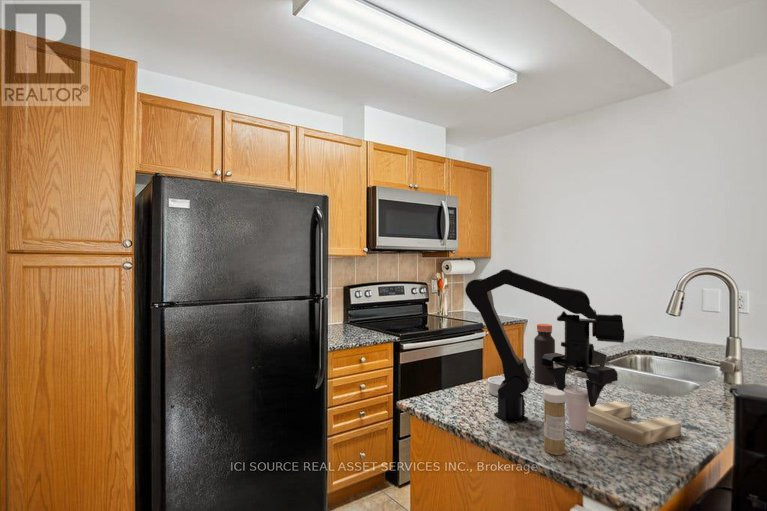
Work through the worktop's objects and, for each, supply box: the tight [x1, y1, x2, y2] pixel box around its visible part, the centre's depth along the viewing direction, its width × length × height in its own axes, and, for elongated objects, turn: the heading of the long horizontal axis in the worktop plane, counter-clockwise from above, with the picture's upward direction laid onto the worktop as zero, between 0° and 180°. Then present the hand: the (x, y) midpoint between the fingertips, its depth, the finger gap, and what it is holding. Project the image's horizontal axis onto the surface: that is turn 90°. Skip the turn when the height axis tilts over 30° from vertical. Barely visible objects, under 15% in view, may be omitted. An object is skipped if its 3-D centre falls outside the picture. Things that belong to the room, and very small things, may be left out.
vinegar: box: [533, 323, 556, 385], centre depth 142 cm, size 7×7×20 cm
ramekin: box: [487, 376, 505, 398], centre depth 129 cm, size 9×9×4 cm
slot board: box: [586, 400, 682, 447], centre depth 103 cm, size 14×17×3 cm
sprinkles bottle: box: [543, 388, 566, 456], centre depth 90 cm, size 5×5×14 cm
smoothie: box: [564, 373, 590, 432], centre depth 103 cm, size 6×6×14 cm
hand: (576, 400), depth 103 cm, fingers open, 9 cm apart
